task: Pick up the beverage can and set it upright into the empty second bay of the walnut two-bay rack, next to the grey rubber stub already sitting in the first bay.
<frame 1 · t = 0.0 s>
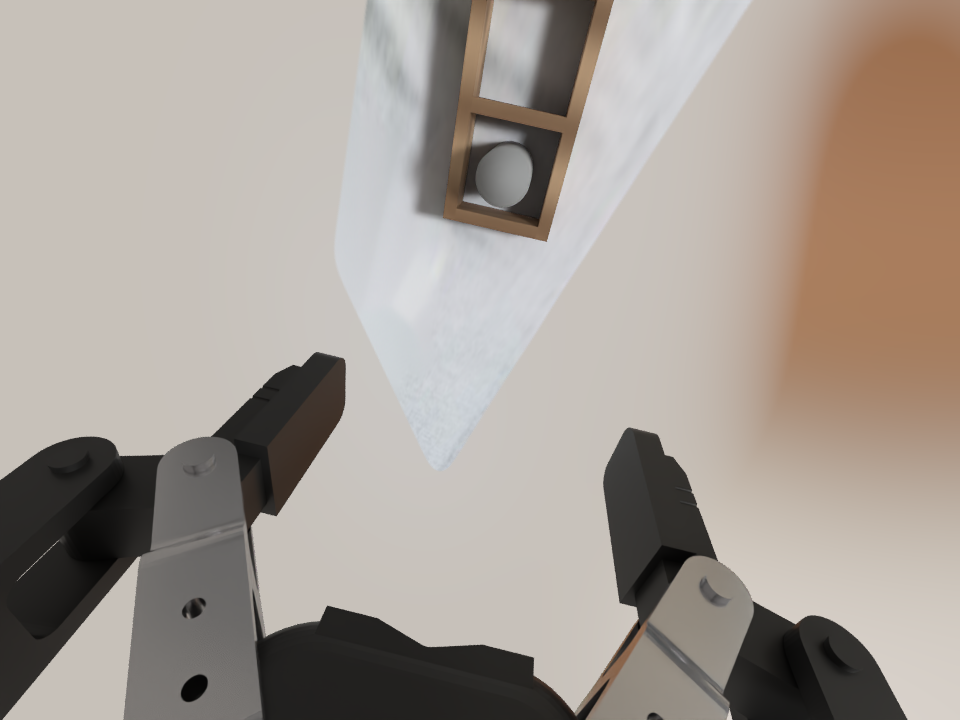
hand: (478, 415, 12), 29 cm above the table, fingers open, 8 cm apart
rack: (520, 113, 33), on the table
stub: (509, 167, 35), resting in rack
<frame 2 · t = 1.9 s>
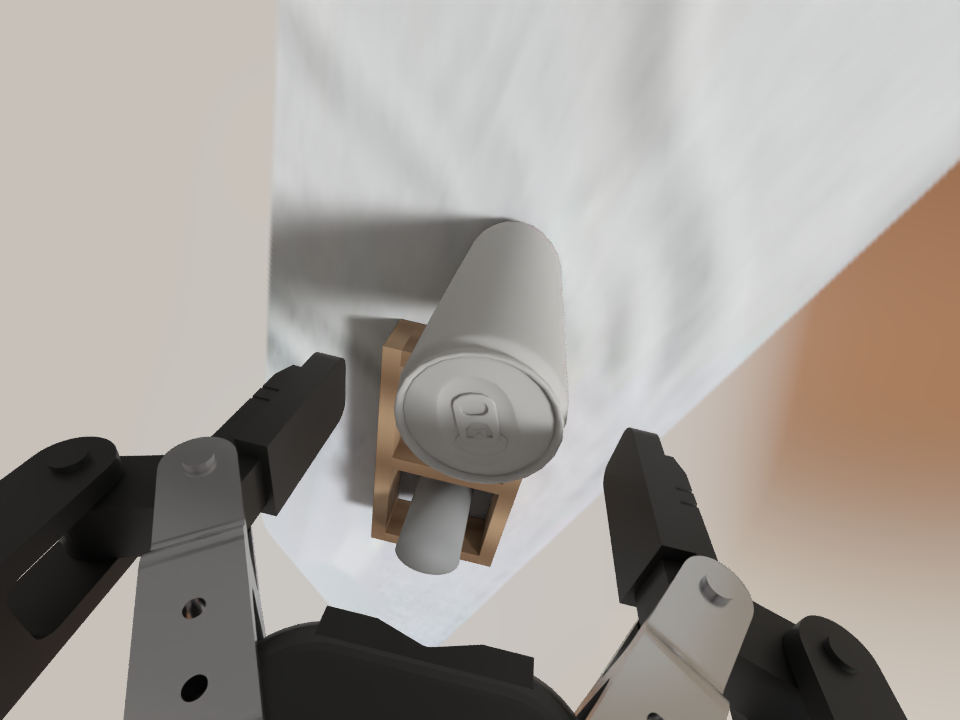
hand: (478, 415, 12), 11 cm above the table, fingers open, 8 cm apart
beverage can: (513, 265, 21), on the table
rack: (455, 442, 28), on the table
stub: (447, 480, 30), resting in rack
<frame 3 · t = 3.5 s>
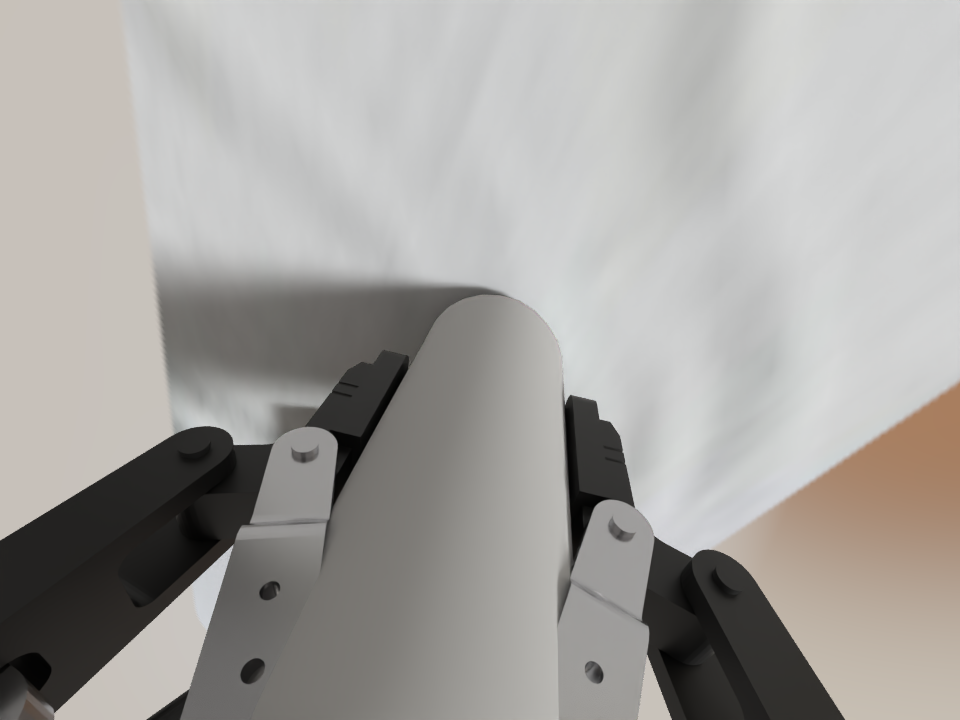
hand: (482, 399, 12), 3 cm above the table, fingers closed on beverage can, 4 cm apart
beverage can: (493, 348, 15), on the table, touching gripper
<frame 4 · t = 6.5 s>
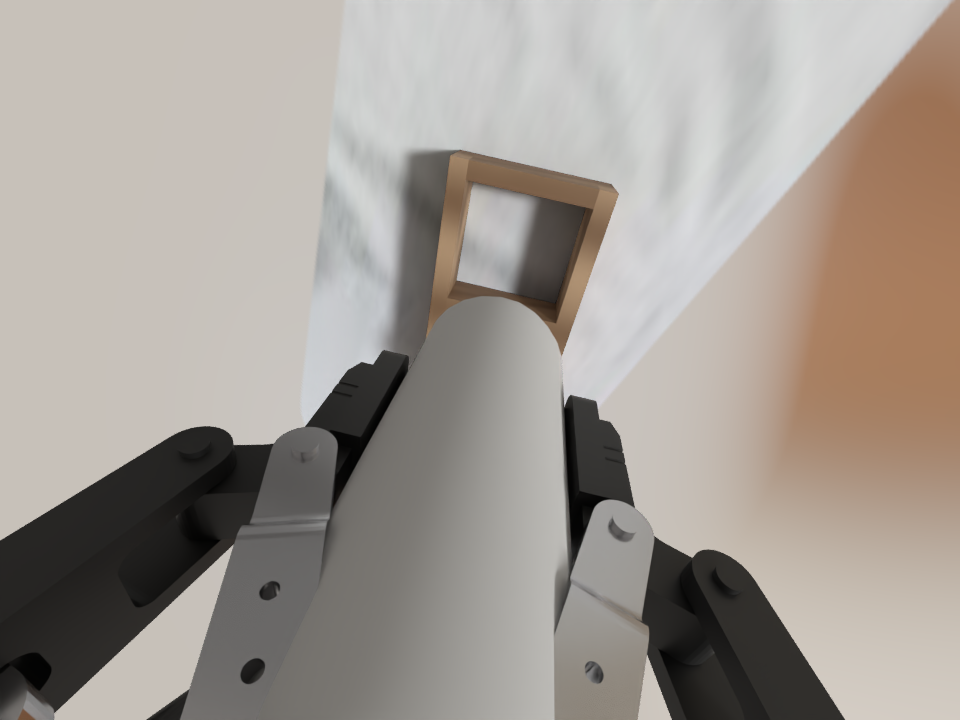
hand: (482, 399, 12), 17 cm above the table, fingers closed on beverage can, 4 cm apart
beverage can: (493, 349, 15), point 14 cm above the table, touching gripper
rack: (504, 298, 29), on the table
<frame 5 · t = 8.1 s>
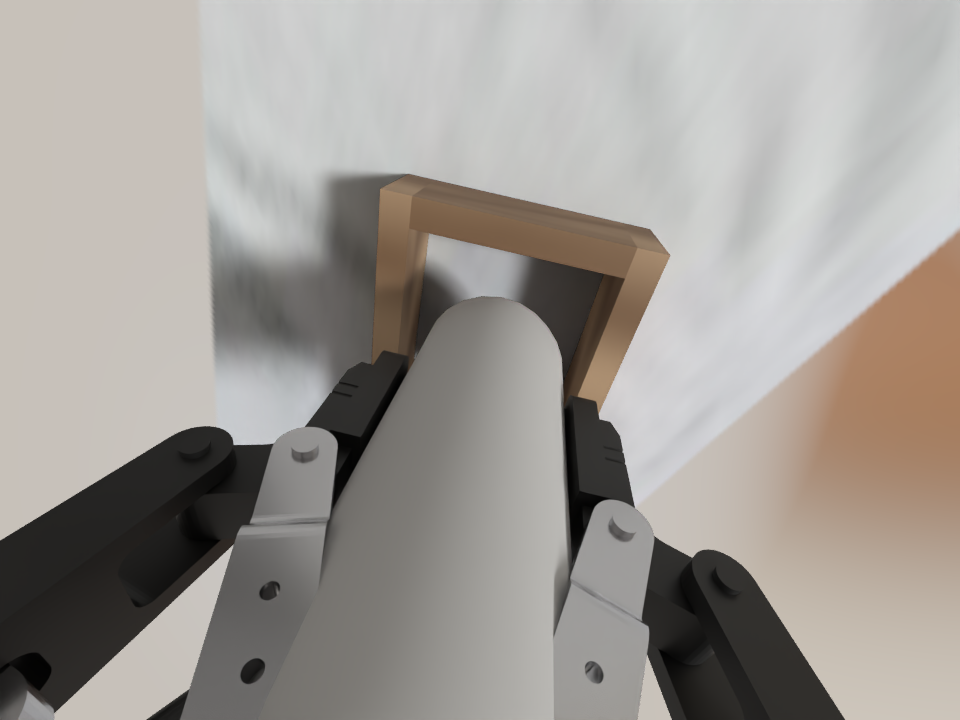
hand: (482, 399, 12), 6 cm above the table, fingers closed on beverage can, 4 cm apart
beverage can: (493, 349, 15), point 3 cm above the table, touching gripper
rack: (484, 385, 20), on the table
when the fingers open (4 cm above the table, at t = 9.4 s): beverage can drops 2 cm, resting in rack.
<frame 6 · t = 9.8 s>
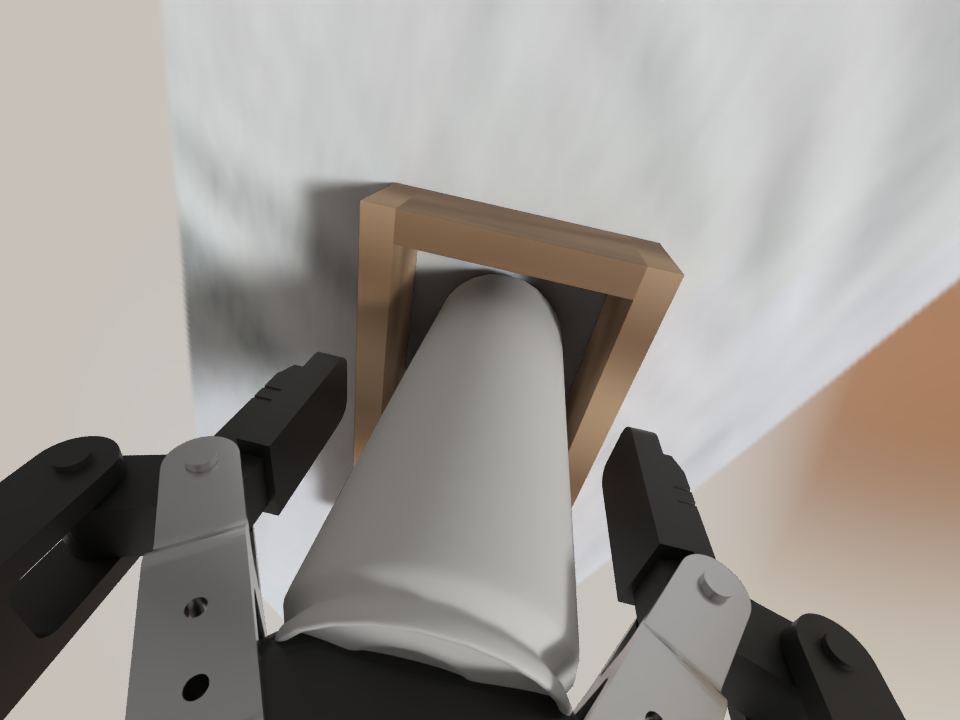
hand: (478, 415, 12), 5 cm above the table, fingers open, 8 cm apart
beverage can: (499, 325, 16), resting in rack
rack: (479, 407, 18), on the table
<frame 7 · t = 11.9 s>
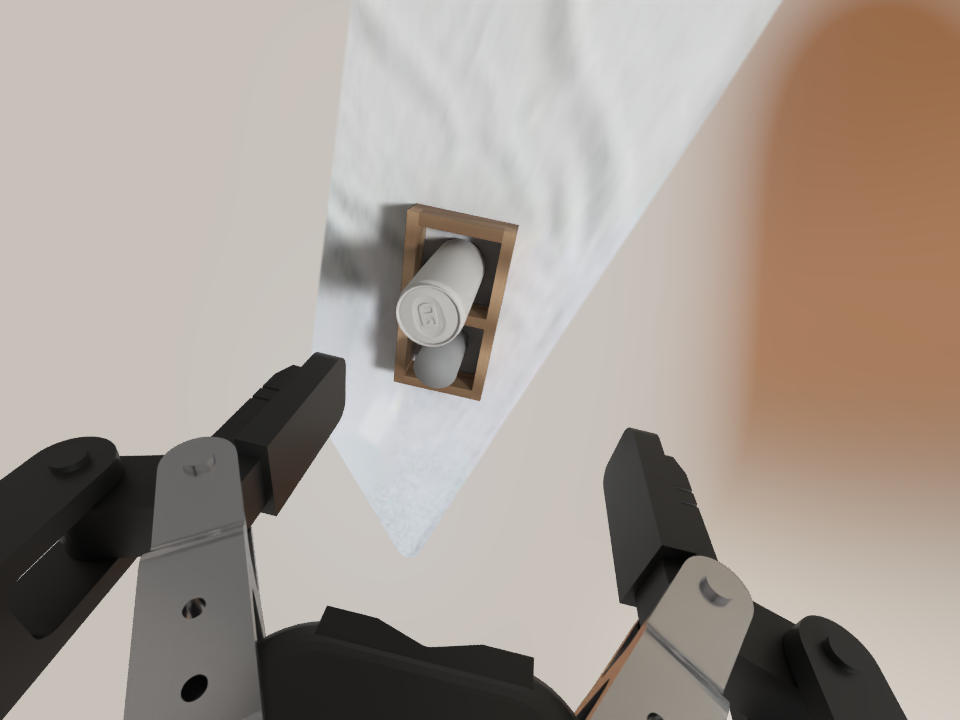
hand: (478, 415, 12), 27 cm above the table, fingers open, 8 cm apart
beverage can: (460, 262, 38), resting in rack
rack: (454, 303, 40), on the table
stub: (448, 339, 42), resting in rack
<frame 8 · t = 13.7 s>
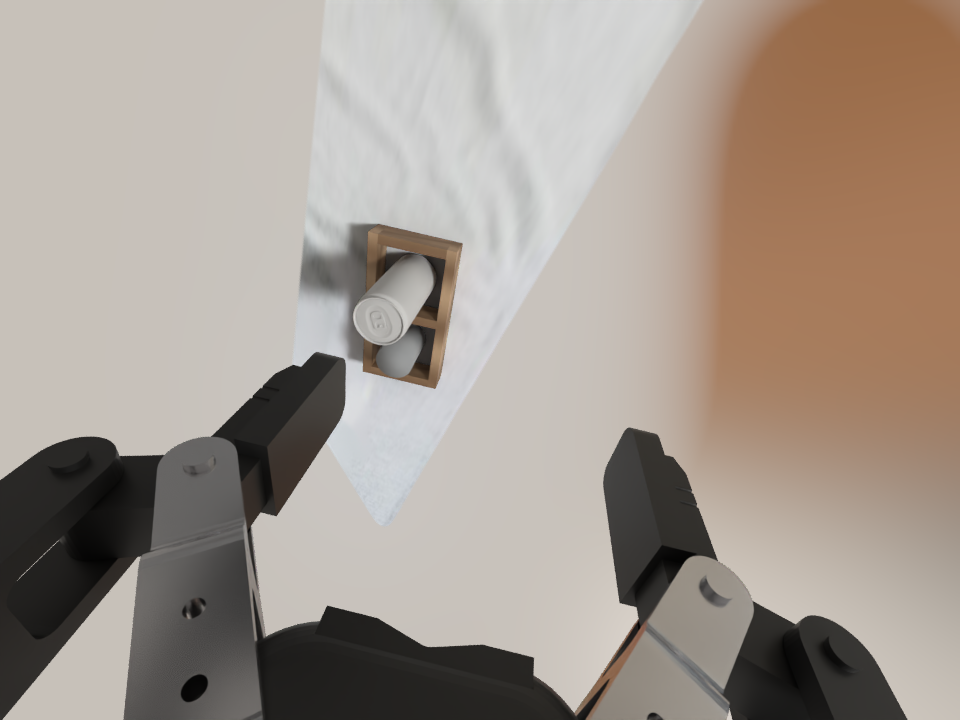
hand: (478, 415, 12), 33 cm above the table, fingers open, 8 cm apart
beverage can: (416, 273, 46), resting in rack
rack: (412, 306, 48), on the table
stub: (409, 336, 50), resting in rack
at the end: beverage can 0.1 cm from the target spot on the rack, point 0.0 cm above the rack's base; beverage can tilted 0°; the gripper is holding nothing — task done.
